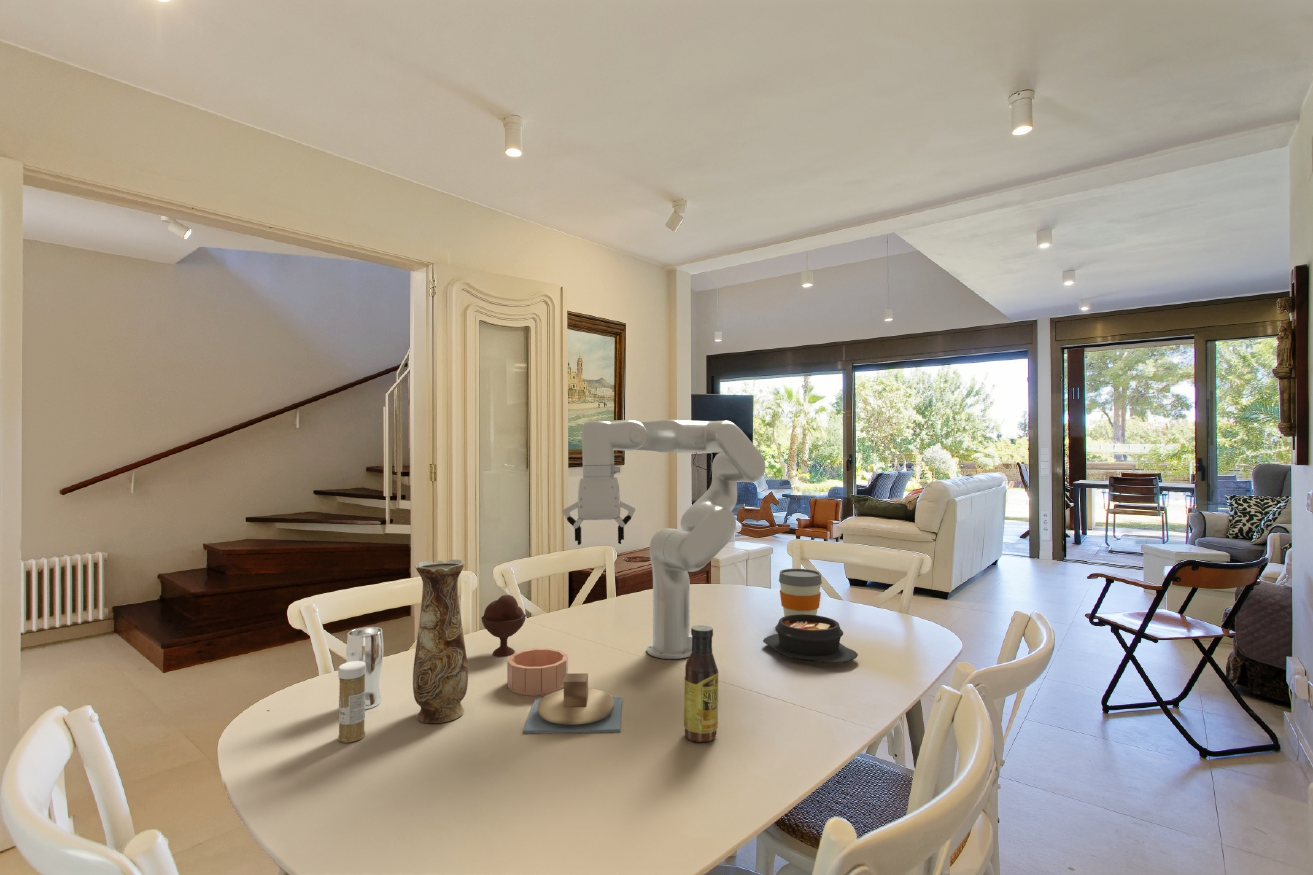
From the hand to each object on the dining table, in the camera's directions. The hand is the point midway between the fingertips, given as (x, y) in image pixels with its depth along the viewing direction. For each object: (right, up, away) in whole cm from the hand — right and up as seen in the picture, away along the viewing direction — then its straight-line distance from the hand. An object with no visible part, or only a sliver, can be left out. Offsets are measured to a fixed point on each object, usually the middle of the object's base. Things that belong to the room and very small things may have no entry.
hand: (599, 543), depth 153 cm
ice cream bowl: (-26, -30, +10) cm, 41 cm away
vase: (-29, -30, -26) cm, 49 cm away
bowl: (-13, -30, -11) cm, 34 cm away
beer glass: (-47, -30, -22) cm, 59 cm away
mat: (-2, -30, -27) cm, 40 cm away
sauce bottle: (+22, -30, -36) cm, 51 cm away
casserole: (+53, -30, +9) cm, 61 cm away
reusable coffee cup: (+57, -30, +38) cm, 74 cm away
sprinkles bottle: (-42, -30, -36) cm, 63 cm away
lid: (-2, -28, -27) cm, 39 cm away
